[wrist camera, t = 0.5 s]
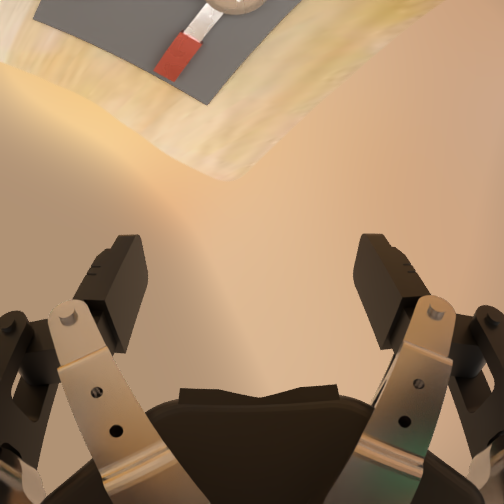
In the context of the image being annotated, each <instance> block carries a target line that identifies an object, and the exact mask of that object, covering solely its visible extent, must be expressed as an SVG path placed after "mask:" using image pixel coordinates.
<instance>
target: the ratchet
mask: <svg viewBox="0 0 504 504" xmlns="http://www.w3.org/2000/svg"><path fill="white" fill-rule="evenodd" d="M205 1H206V2H207V3H206V4H205V6H204V7H203V8H202V9H201V11H200V12H199V13H198V14H197V16H196V17H195V18H194V19H193V21H192V22H191V23H190V24H189V26H188V27H187V28H186V30H185V31H184V30H181V31H180V33H179V34H178V35H177V37H176V38H175V40H174V41H173V42H172V44H171V45H170V47H169V48H168V49H167V51H166V52H165V54H164V55H163V57H162V58H161V60H160V61H159V63H158V64H157V66H156V67H155V69H154V70H153V71H154V72H156V73H158V74H160V75H162V76H164V77H165V78H167V79H169V80H171V81H173V82H175V80H176V79H177V78H178V76H179V75H180V73H181V72H182V71H183V69H184V68H185V67H186V65H187V64H188V63H189V61H190V60H191V58H192V57H193V56H194V55H195V53H196V52H197V51H198V49H199V48H200V47H201V45H202V44H203V41H201V40H202V39H203V38H204V37H205V35H206V34H207V33H208V32H209V30H210V29H211V28H212V27H213V26H214V24H215V23H216V22H217V21H218V20H219V18H220V17H221V16H222V15H223V14H224V13H225V14H231V15H240V14H246V13H249V12H252V11H254V10H256V9H258V8H259V7H260V6H262V5H263V4H264V3H265V1H266V0H205Z"/></svg>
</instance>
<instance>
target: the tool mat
mask: <svg viewBox="0 0 504 504" xmlns="http://www.w3.org/2000/svg"><path fill="white" fill-rule="evenodd" d="M300 1H301V0H266V1H265V3H264V4H263V5H262V6H260V7H259V8H258V9H256V10H254V11H252V12H249V13H246V14H240V15H231V14H225V13H224V14H223V15H222V16H221V17H220V18H219V20H218V21H217V22H216V23H215V24H214V26H213V27H212V28H211V29H210V30H209V32H208V33H207V34H206V35H205V37H204V38H203V39H202V40H201V41H203V44H202V45H201V47H200V48H199V49H198V51H197V52H196V53H195V55H194V56H193V57H192V58H191V60H190V61H189V63H188V64H187V65H186V67H185V68H184V69H183V71H182V72H181V73H180V75H179V76H178V78H177V79H176V80H175V82H173V81H171V80H169V79H167V78H165V77H164V76H162V75H160V74H158V73H156V72H154V71H153V70H154V69H155V67H156V66H157V64H158V63H159V61H160V60H161V58H162V57H163V55H164V54H165V52H166V51H167V49H168V48H169V47H170V45H171V44H172V42H173V41H174V40H175V38H176V37H177V35H178V34H179V33H180V31H181V30H184V31H185V30H186V28H187V27H188V26H189V24H190V23H191V22H192V21H193V19H194V18H195V17H196V16H197V14H198V13H199V12H200V11H201V9H202V8H203V7H204V6H205V4H206V3H207V2H206V1H205V0H41V2H40V4H39V6H38V8H37V10H36V13H35V15H34V17H33V19H34V20H36V21H39V22H41V23H44V24H46V25H49V26H51V27H54V28H56V29H59V30H61V31H63V32H66V33H68V34H70V35H73V36H75V37H77V38H79V39H82V40H84V41H86V42H88V43H91V44H93V45H95V46H97V47H99V48H101V49H103V50H105V51H107V52H110V53H112V54H114V55H116V56H118V57H120V58H122V59H124V60H126V61H128V62H130V63H132V64H134V65H135V66H137V67H139V68H141V69H143V70H145V71H147V72H149V73H151V74H152V75H154V76H156V77H158V78H160V79H162V80H163V81H165V82H167V83H169V84H171V85H172V86H174V87H176V88H178V89H180V90H181V91H183V92H185V93H186V94H188V95H190V96H192V97H193V98H195V99H197V100H198V101H200V102H202V103H203V104H205V105H208V104H209V103H210V101H211V100H212V99H213V98H214V96H215V95H216V94H217V93H218V91H219V90H220V89H221V88H222V86H223V85H224V84H225V83H226V82H227V80H228V79H229V78H230V77H231V76H232V74H233V73H234V72H235V71H236V70H237V69H238V67H239V66H240V65H241V64H242V63H243V62H244V60H245V59H246V58H247V57H248V56H249V55H250V54H251V52H252V51H253V50H254V49H255V48H256V47H257V46H258V45H259V44H260V43H261V41H262V40H263V39H264V38H265V37H266V36H267V35H268V34H269V33H270V32H271V31H272V30H273V29H274V28H275V27H276V25H277V24H278V23H279V22H280V21H281V20H282V19H283V18H284V17H285V16H286V15H287V14H288V13H289V12H290V11H291V10H292V9H293V8H294V7H295V6H296V5H297V4H298V3H299V2H300Z"/></svg>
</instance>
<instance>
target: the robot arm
mask: <svg viewBox="0 0 504 504" xmlns="http://www.w3.org/2000/svg"><path fill="white" fill-rule="evenodd" d="M353 279H354V284H355V287H356V289H357V291H358V294H359V296H360V299H361V301H362V304H363V306H364V309H365V311H366V313H367V316H368V318H369V321H370V323H371V326H372V328H373V331H374V333H375V336H376V339H377V342H378V344H379V347H380V349H381V350H384V349H393V351H394V354H393V356H392V358H391V361H390V363H389V365H388V368H387V370H386V372H385V374H384V376H383V379H382V381H381V383H380V385H379V387H378V389H377V391H376V393H375V395H374V397H373V399H372V401H371V403H370V405H369V404H367V403H365V402H362V401H360V400H357V399H355V398H351V397H347V396H342V395H339V393H338V388H337V385H336V384H335V385H324V386H311V387H299V388H296V389H292V390H288V391H285V392H281V393H278V394H274V395H270V396H266V397H262V398H257V397H251V396H247V395H241V394H236V393H232V392H227V391H223V390H219V389H187V388H180V393H179V399H176V400H172V401H168V402H165V403H162V404H160V405H157V406H156V407H153V408H152V409H150V410H148V411H147V412H145V413H144V411H143V409H142V408H141V406H140V404H139V403H138V401H137V400H136V398H135V396H134V395H133V393H132V391H131V389H130V387H129V386H128V384H127V382H126V380H125V379H124V377H123V375H122V373H121V372H120V370H119V368H118V366H117V364H116V362H115V360H114V359H113V355H114V353H126V350H127V347H128V344H129V340H130V337H131V334H132V330H133V327H134V324H135V321H136V318H137V314H138V312H139V308H140V305H141V302H142V299H143V296H144V293H145V290H146V287H147V283H148V270H147V266H146V261H145V256H144V251H143V246H142V241H141V238H140V236H139V235H119V236H118V237H117V239H116V241H115V242H114V244H113V246H112V247H111V249H105V250H104V251H103V252H102V253H100V254H99V255H98V256H97V257H96V259H95V260H94V262H93V264H92V265H91V268H90V269H89V270H88V272H87V275H86V276H85V277H84V279H83V281H82V283H81V284H80V286H79V288H78V290H77V292H76V294H75V296H74V297H73V299H72V300H68V301H65V302H63V303H60V304H59V305H57V306H56V307H55V308H54V309H53V310H52V311H51V313H50V314H49V317H48V319H44V320H39V321H35V322H29V321H28V319H27V317H26V315H25V314H24V313H23V312H21V311H11V312H8V313H6V314H4V315H3V316H2V317H0V504H504V315H503V313H502V312H500V311H499V310H498V309H496V308H494V307H491V306H488V305H483V306H480V307H478V309H477V310H476V312H475V314H474V316H473V317H472V316H466V315H460V314H456V313H455V310H454V308H453V307H452V306H451V304H450V303H449V302H447V301H446V300H444V299H442V298H440V297H437V296H434V295H431V294H430V293H429V291H428V289H427V288H426V286H425V285H424V283H423V281H422V280H421V278H420V277H419V275H418V274H417V273H416V272H415V269H414V268H413V266H412V265H411V263H410V262H409V260H408V259H407V257H406V256H405V255H404V254H403V253H402V252H401V251H399V250H398V249H397V248H396V247H391V245H390V244H389V242H388V241H387V239H386V238H385V236H384V235H383V234H362V236H361V239H360V242H359V247H358V251H357V256H356V261H355V265H354V270H353ZM486 363H487V364H488V367H489V369H490V371H491V373H492V375H493V378H494V382H495V386H494V390H493V392H491V390H490V388H489V386H488V383H487V381H486V378H485V376H484V374H483V372H482V368H483V366H484V365H485V364H486ZM17 372H19V373H20V375H21V378H20V380H19V383H18V385H17V388H16V391H15V394H14V397H13V399H12V396H11V388H12V385H13V382H14V380H15V377H16V375H17ZM60 382H61V383H62V386H63V389H64V391H65V394H66V397H67V400H68V402H69V405H70V407H71V410H72V412H73V415H74V418H75V420H76V422H77V425H78V427H79V429H80V432H81V434H82V436H83V438H84V441H85V443H86V445H87V447H88V449H89V451H90V454H91V456H92V459H91V460H90V461H89V462H88V463H86V464H85V465H84V466H83V467H82V468H80V469H79V470H78V471H77V472H76V473H75V474H73V475H72V476H71V477H70V478H69V479H67V480H66V481H65V482H64V483H63V484H61V485H60V486H59V487H58V488H57V489H55V490H54V491H53V492H52V493H50V494H49V495H48V496H47V497H46V498H45V496H46V493H45V490H44V488H43V483H42V479H41V477H40V475H39V473H38V472H37V467H38V462H39V457H40V452H41V448H42V443H43V439H44V435H45V431H46V427H47V423H48V419H49V415H50V412H51V408H52V404H53V401H54V397H55V394H56V391H57V388H58V384H59V383H60ZM447 386H449V389H450V391H451V394H452V397H453V400H454V403H455V405H456V408H457V411H458V414H459V417H460V420H461V423H462V426H463V430H464V433H465V436H466V439H467V443H468V446H469V450H470V453H471V456H472V462H471V464H470V468H469V474H468V475H467V477H466V478H465V477H464V476H462V475H461V474H460V473H458V472H457V471H456V470H454V469H453V468H452V467H450V466H449V465H447V464H446V463H445V462H444V461H442V460H441V459H439V458H438V457H437V456H435V455H434V454H433V453H432V452H430V451H429V450H428V447H429V444H430V442H431V439H432V436H433V433H434V430H435V427H436V424H437V421H438V418H439V414H440V411H441V407H442V404H443V401H444V397H445V393H446V390H447Z"/></svg>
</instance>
